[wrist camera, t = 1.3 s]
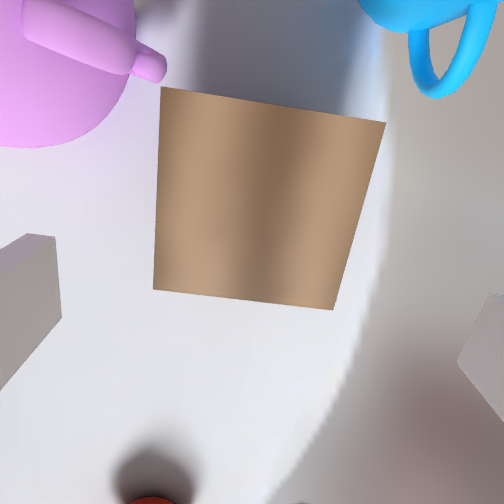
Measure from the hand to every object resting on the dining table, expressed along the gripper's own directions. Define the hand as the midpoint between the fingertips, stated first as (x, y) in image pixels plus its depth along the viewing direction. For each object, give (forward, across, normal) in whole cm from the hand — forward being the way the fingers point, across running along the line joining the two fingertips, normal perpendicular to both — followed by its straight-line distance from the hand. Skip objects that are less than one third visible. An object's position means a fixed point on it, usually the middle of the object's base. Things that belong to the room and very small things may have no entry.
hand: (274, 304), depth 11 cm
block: (+12, 0, 0) cm, 12 cm away
